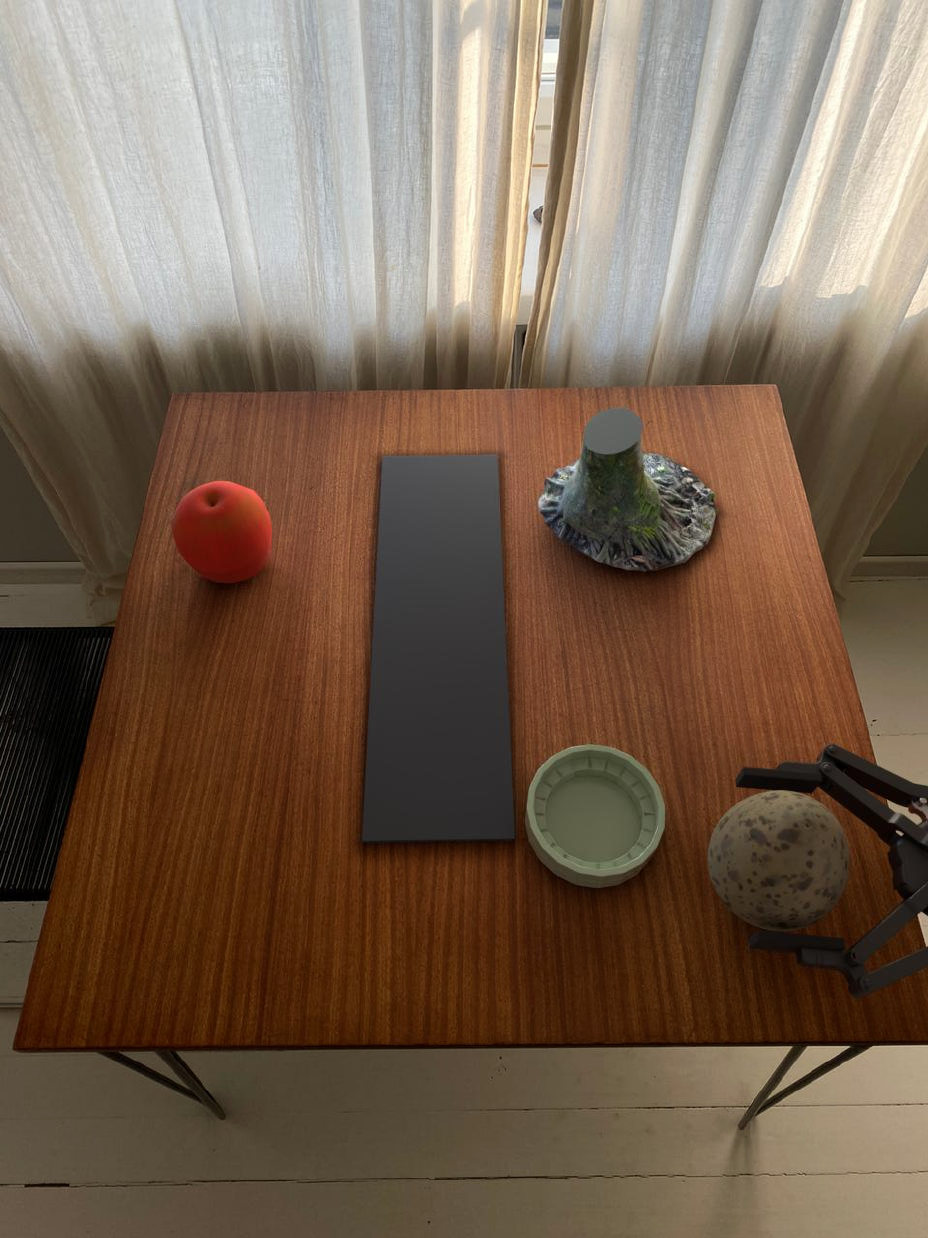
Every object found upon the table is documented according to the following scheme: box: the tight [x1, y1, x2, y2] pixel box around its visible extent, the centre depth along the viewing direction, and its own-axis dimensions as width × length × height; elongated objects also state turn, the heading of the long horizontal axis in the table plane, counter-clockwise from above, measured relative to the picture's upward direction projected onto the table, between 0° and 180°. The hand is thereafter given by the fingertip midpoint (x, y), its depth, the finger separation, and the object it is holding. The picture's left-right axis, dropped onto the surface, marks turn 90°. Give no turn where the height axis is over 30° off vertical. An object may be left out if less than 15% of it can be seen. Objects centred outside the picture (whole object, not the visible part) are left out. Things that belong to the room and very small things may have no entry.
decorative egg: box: [707, 790, 851, 932], centre depth 71 cm, size 11×11×15 cm
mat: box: [361, 454, 516, 844], centre depth 93 cm, size 48×14×1 cm, turn 1°
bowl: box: [524, 744, 666, 889], centre depth 79 cm, size 12×12×4 cm
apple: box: [170, 480, 273, 584], centre depth 93 cm, size 10×10×12 cm
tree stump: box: [537, 406, 718, 573], centre depth 95 cm, size 18×20×18 cm
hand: (745, 854), depth 72 cm, fingers open, 13 cm apart
